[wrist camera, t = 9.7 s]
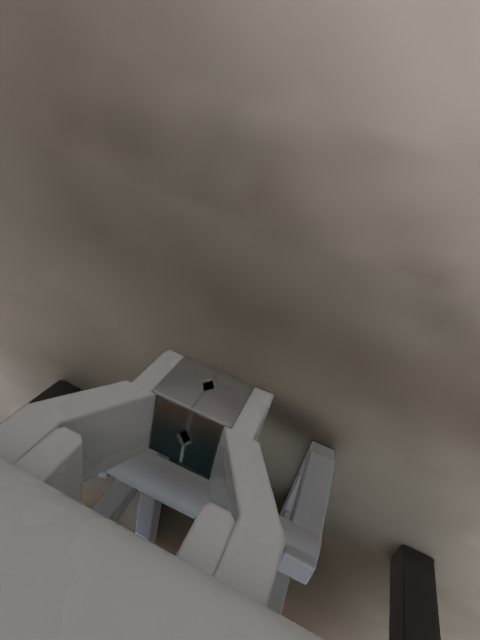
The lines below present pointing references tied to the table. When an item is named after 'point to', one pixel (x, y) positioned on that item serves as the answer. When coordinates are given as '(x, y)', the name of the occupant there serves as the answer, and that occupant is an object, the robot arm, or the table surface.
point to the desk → (405, 577)
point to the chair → (193, 492)
